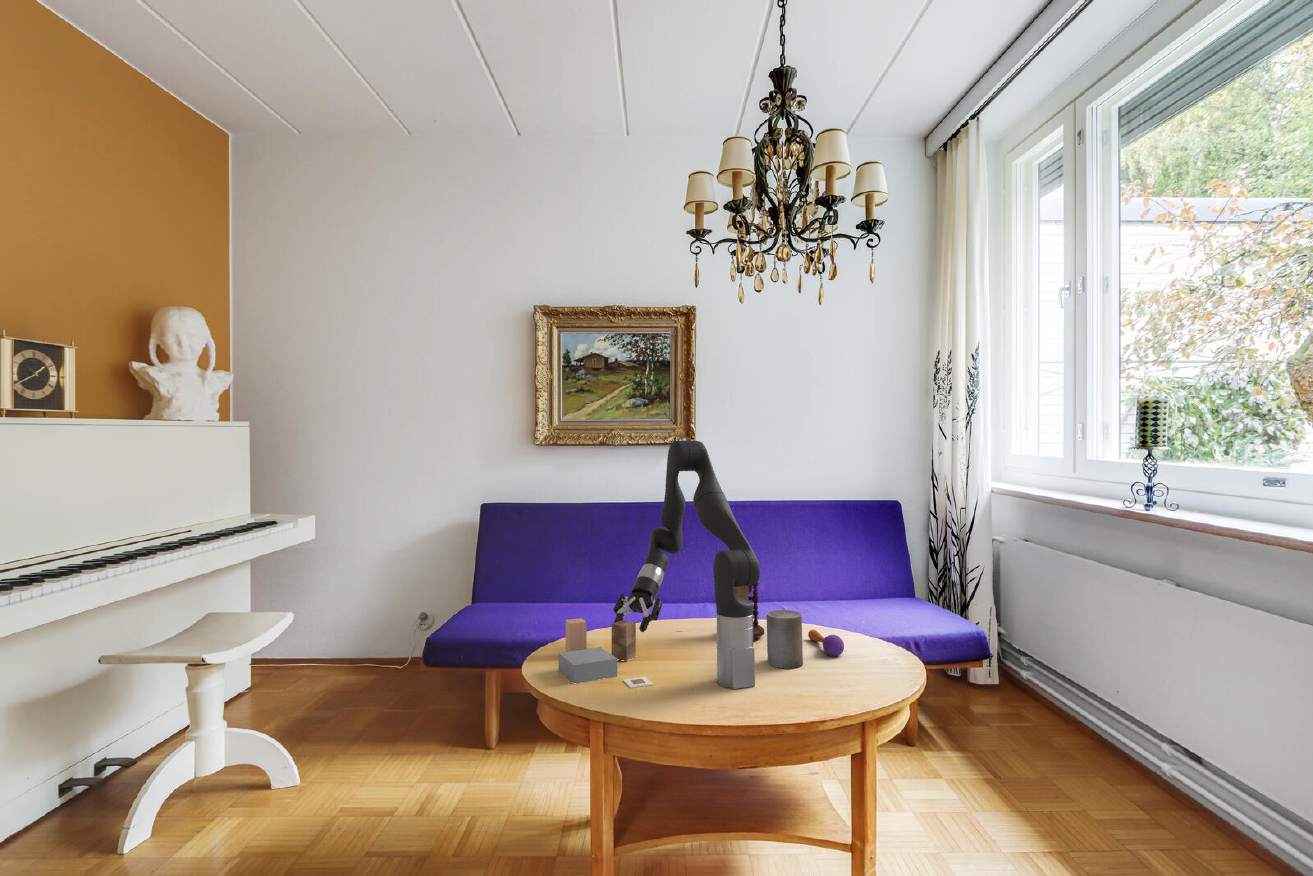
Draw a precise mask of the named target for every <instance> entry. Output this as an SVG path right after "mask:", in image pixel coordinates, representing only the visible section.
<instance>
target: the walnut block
mask: <svg viewBox="0 0 1313 876" xmlns="http://www.w3.org/2000/svg"><path fill="white" fill-rule="evenodd" d="M636 625H637V624H636V621H628V620H623V621H622V620H621V621H618V622H616V623H614V622H613V623H611V655H613V656H614V657H616V658H617V659H619V660H624V661H628V660H629V659H632V658H634V657H635V656H636V657H637V652H636V651H637V644H636V643H637V641H636V640H637V639H636V637H637V636H636V635H637V633H636V631H637V629H636V628H637V627H636ZM634 659H635V658H634ZM632 660H633V659H632ZM628 662H629V661H628Z"/></svg>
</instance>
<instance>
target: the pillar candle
mask: <svg viewBox="0 0 1313 876" xmlns="http://www.w3.org/2000/svg"><path fill="white" fill-rule="evenodd" d="M765 615H766V643H767V644H766V647H767V663H768V665H769V664H770V665H769V666H771V665H772V666H771V667H775V668H778V669H795V668H800V667H801V666H803V665H804V657H803V656H804V655H803V624H802V623H803V622H802V619H803V618H802V613H801V612H799V611H796V610H792V609H791V610H789V609H785V608H784V609H776V610H775V609H774V610H770V611H768V612H766V613H765Z"/></svg>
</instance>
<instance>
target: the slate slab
mask: <svg viewBox="0 0 1313 876" xmlns="http://www.w3.org/2000/svg"><path fill="white" fill-rule="evenodd" d="M558 671H559V672H560V673H561V674H562V675H563V677H565V678H566V679H568V681H569V682H571V683H572V682H573V683H576V684H580V683H579V682H582V683H587V682H593V681H592V680H594V681H600V680H604V679H603V678H606V679H612V678H617V677H618V661H617V658H616V657H614V656H613V655H612V653H610V652H608V651H606V650H605V649H603V648H602V647H594V648H593V647H592V648H587V649H584V650H577V651H570V652H566V651H564V652H558ZM599 679H600V680H599ZM573 683H572V684H573Z"/></svg>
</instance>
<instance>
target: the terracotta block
mask: <svg viewBox="0 0 1313 876" xmlns="http://www.w3.org/2000/svg"><path fill="white" fill-rule="evenodd" d="M587 626H588V625H587V621H586V620H585V619H584V618H571V619H568V618H567V619H565V652H570V651H577V650H584V649H588V648H587V642H588V641H587V628H588V627H587Z"/></svg>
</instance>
